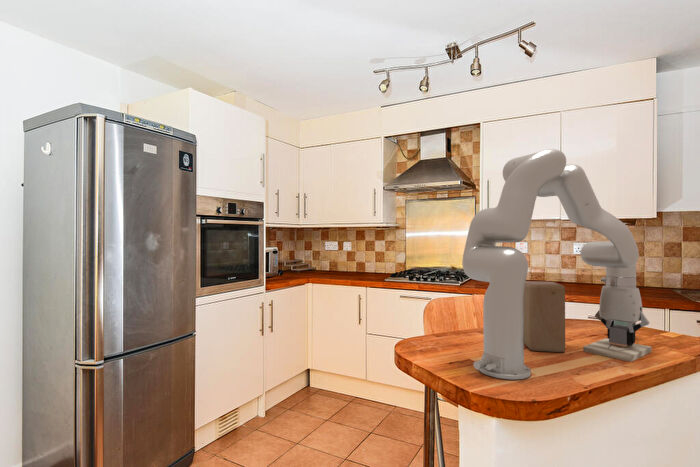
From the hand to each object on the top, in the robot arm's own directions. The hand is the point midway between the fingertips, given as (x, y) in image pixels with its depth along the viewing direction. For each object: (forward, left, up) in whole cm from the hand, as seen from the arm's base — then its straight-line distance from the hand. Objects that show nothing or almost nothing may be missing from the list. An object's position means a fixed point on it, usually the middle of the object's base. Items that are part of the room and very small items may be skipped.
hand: (621, 342), depth 116 cm
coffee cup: (+17, +6, -2) cm, 18 cm away
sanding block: (0, 0, 0) cm, 0 cm away
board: (-3, 0, -2) cm, 4 cm away
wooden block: (-17, +15, -2) cm, 23 cm away
